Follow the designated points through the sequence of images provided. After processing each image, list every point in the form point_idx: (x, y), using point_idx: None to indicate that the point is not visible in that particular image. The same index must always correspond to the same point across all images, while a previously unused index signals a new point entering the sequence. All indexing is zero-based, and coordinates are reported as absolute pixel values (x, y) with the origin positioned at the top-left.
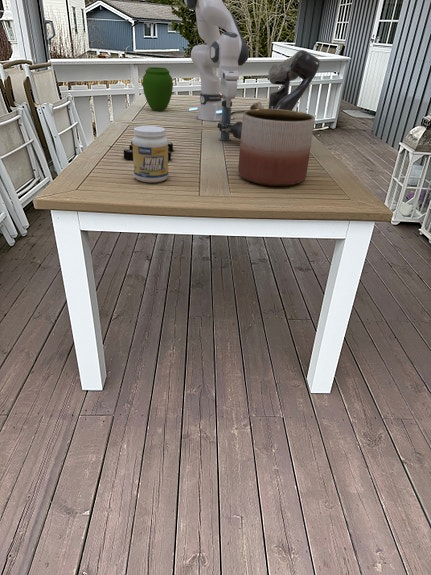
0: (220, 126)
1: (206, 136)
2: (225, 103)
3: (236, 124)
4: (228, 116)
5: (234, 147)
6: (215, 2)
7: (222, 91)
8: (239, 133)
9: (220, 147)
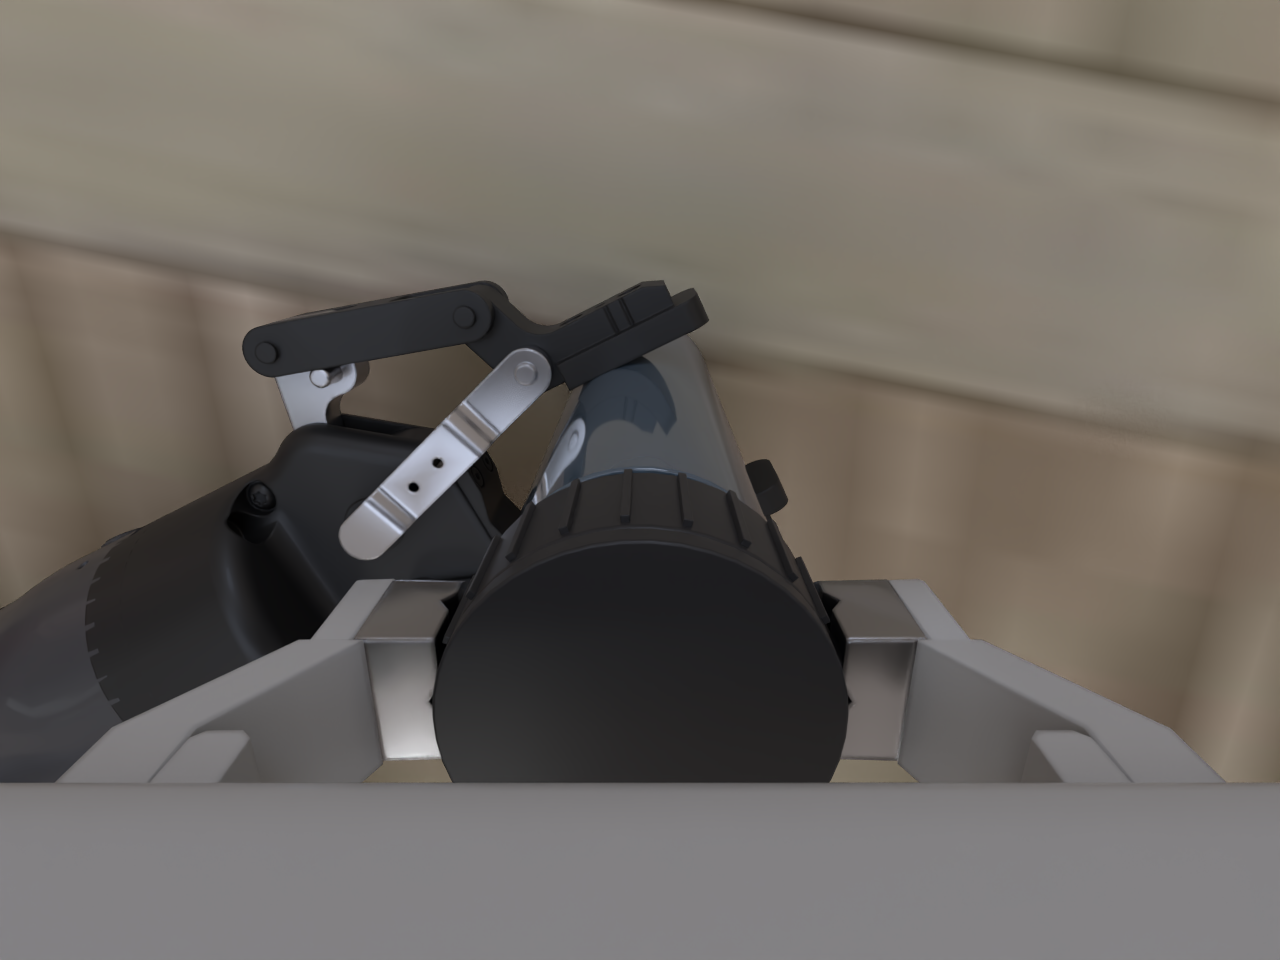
0: (408, 298)
1: (901, 131)
2: (458, 612)
3: (172, 581)
4: None
5: (232, 425)
6: None
7: (1118, 936)
8: (98, 549)
9: (189, 227)
